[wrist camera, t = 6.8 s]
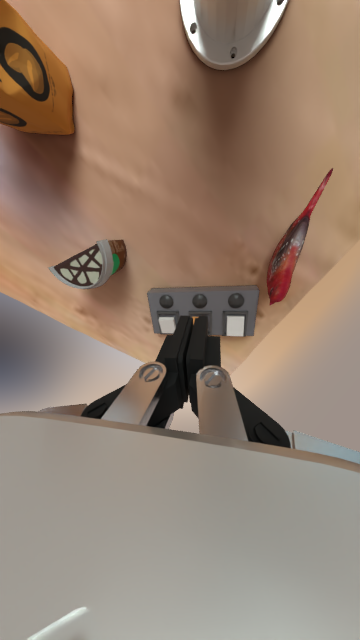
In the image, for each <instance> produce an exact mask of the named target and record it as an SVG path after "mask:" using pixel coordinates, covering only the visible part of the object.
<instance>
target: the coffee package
mask: <svg viewBox="0 0 360 640" xmlns="http://www.w3.org/2000/svg"><path fill="white" fill-rule="evenodd" d="M72 94H73V87H72V84H71V80H70V76H69V73H68V70H67V67H66V66H65V65H64V64H63V63H62V62H61V61H60V60H59V59H58V58H57V56H56V55H55V54H54V53H53V52H52V51H51V50H50V49H49V48H48V47H47V46H46V45H45V44H44V43H43V42H42V41H41V39H40V38H39V37H38V36H37V35H36V34H35V33H34V32H33V30H32V29H31V28H30V27H29V25H28V24H27V23H26V22H25V21H24V19H23V18H22V17H21V16H20V15H19V13H18V12H17V11H16V10H15V9H14V8H13V7H12V6H11V5H10V4H8V3H7V2H6V1H5V0H0V123H1V124H3V125H6V126H9V127H12V128H15V129H17V130H19V131H23V132H29V133H40V134H57V135H68V134H72V133H74V124H73V119H72V113H73V108H72Z"/></svg>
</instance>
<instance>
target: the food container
mask: <svg viewBox="0 0 360 640" xmlns="http://www.w3.org/2000/svg"><path fill="white" fill-rule="evenodd" d="M125 261H126V247H125V244H124V241H123V240H112V241H107V239H106V240H101V241H97V244H95V245H94V246H92V247H90V248H89V249H87V250H85V251H83V252H81V253H79V254H77V255H75V256H73V257H71V258H69V259H67V260H66V261H64V262H62V263H60V264H58V265H56V266H52V267H48V268H49V270H50V271H51V272H52V273H53V274H54V276H55V277H57V278H58V279H59V280H60V281H62V282H63V283H65V284H66V285H68V286H71V287H74V288H79V289H91V288H96V287H99V286H101V285H103V284H104V283H105V282H106V281H107V280H108V279H109V277H110V275H112V274H114V273H115V272H117V271H119V270H120V269H121V268H122V267H123V266H124V264H125Z"/></svg>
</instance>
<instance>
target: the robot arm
mask: <svg viewBox="0 0 360 640" xmlns="http://www.w3.org/2000/svg"><path fill="white" fill-rule="evenodd" d="M287 3H288V0H180V9H181V15H182V21H183V26H184V29H185V33H186V36H187V39H188V41H189V43H190V45H191V48H192V50H193V51H194V53H195V54H196V55H197V57H198V58H199V59H200V60H201V61H202V62H203V63H205V64H206V65H207V66H209V67H212V68H214V69H218V70H228V69H233V68H236V67H238V66H240V65H242V64H245V63H246V62H247V61H249V60H250V59H251V58H252V57H254V56H255V55H256V54H257V53H258V52H259V51H260V50H261V48H262V47H263V46H264V45H265V44H266V42H267V41H268V39H269V38H270V37H271V35H272V34H273V32H274V31H275V29H276V27H277V25H278V23H279V21H280V19H281V17H282V15H283V13H284V10H285V8H286V5H287ZM278 5H280V6H278ZM193 33H195V34H194V35H193ZM233 56H234V57H235V58H233V59H232V57H233ZM188 395H189V398H190V403H191V407H192V411H193V412H194V413H195V415H196V416H197V417H198V418H199V433H200V434H196V433H190V432H183V431H176V430H170V429H169V427H170V425H171V422H172V420H173V416H174V412H175V411H176V410H178V409H179V408H181V409H182V408H183V404H184V402H187V401H188ZM0 640H360V452H357V451H354V450H351V449H348V448H345V447H342V446H339V445H336V444H333V443H330V442H327V441H324V440H321V439H318V438H315V437H312V436H309V435H306V434H303V433H300V432H297V431H293V433H291V432H288V431H285V430H284V429H283V428H282V427H281V426H280V425H279V424H278V423H277V422H276V421H274V420H273V419H272V418H271V417H269V416H268V415H267V414H266V413H265V412H263V411H262V410H261V409H260V408H258V407H257V406H256V405H255V404H254V403H252V402H251V401H250V400H249V399H247V398H246V397H245V396H244V395H242V394H241V393H240V392H239V391H237V390H236V389H235V388H234V387H233V385H232V382H231V379H230V376H229V374H228V372H227V371H226V370H225V369H223V368H221V358H220V337H214V336H208V316H199V317H198V318H195V321H194V325H193V318H190V316H180V318H179V321H178V323H177V326H176V329H175V331H174V334H173V335H167V337H166V339H165V341H164V343H163V345H162V348H161V350H160V352H159V354H158V356H157V359H156V361H155V362H148V363H146V364H144V365H142V366H141V367H140V368H139V369H138V370H137V371H136V373H135V374H134V375H133V376H132V378H131V379H130V381H129V382H128V383H127V384H126V385H124V386H122V387H121V388H119V389H117V390H115V391H113V392H111V393H109V394H107V395H105V396H103V397H102V398H100V399H98V400H96V401H94V402H93V403H91V404H90V405H89V406H87V404H79V405H70V406H60V407H52V408H46V409H42V410H40V411H38V412H35V411H22V412H9V413H2V414H0Z"/></svg>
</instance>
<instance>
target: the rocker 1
mask: <svg viewBox="0 0 360 640" xmlns="http://www.w3.org/2000/svg"><path fill="white" fill-rule="evenodd" d="M159 324H160V327H161V331H162V333H174V331H175V329H176V324H175V320H174V317H159Z"/></svg>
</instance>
